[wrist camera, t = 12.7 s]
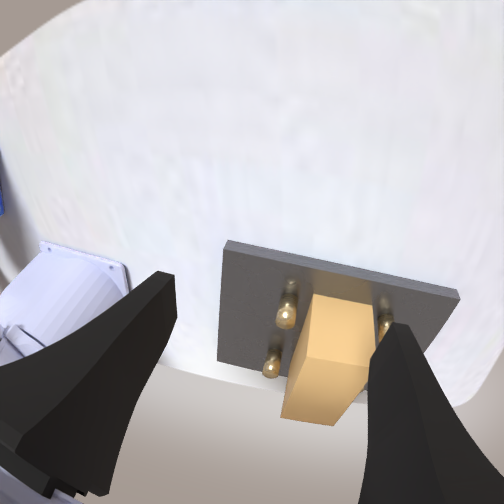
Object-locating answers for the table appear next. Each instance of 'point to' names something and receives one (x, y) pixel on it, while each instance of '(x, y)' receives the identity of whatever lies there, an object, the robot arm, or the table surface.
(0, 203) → the medicine box
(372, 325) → the ochre block
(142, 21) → the table surface
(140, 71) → the table surface
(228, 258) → the chassis plate
